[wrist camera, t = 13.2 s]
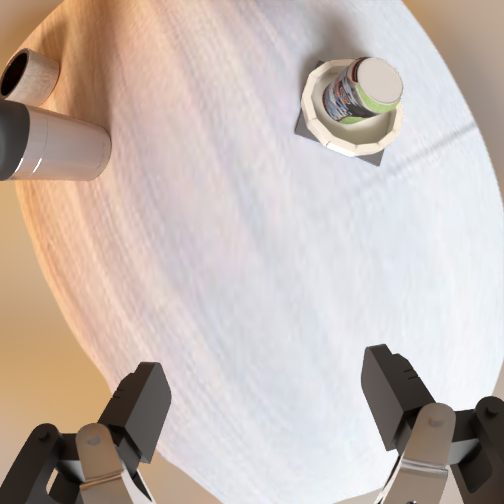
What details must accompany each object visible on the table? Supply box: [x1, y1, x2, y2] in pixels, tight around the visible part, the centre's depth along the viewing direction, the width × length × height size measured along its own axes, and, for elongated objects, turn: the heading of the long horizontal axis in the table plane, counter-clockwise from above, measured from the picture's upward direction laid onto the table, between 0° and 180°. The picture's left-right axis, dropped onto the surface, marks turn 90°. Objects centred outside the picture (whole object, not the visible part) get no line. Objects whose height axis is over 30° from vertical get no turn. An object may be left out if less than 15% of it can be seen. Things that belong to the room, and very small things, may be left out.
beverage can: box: [322, 57, 403, 125], centre depth 25 cm, size 6×7×12 cm
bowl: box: [301, 59, 404, 157], centre depth 30 cm, size 13×13×3 cm
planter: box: [0, 48, 59, 107], centre depth 30 cm, size 11×11×10 cm
